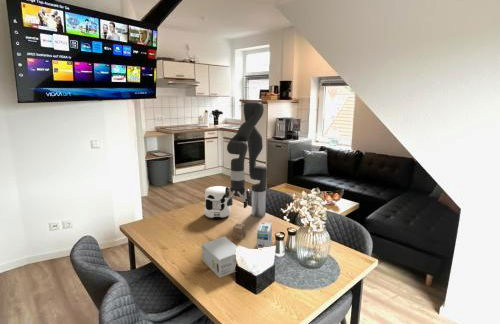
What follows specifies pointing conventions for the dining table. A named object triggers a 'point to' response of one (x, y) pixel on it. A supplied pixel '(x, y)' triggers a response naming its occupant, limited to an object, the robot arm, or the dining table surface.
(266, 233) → the light bulb box
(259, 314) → the dining table surface
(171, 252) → the dining table surface
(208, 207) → the milk container
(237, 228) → the walnut block
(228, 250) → the supplement box
